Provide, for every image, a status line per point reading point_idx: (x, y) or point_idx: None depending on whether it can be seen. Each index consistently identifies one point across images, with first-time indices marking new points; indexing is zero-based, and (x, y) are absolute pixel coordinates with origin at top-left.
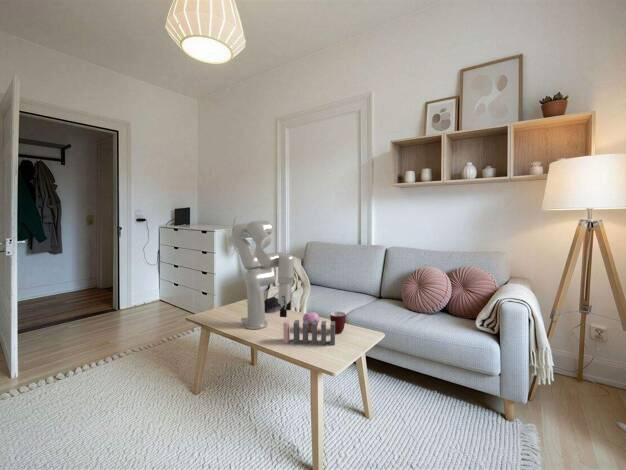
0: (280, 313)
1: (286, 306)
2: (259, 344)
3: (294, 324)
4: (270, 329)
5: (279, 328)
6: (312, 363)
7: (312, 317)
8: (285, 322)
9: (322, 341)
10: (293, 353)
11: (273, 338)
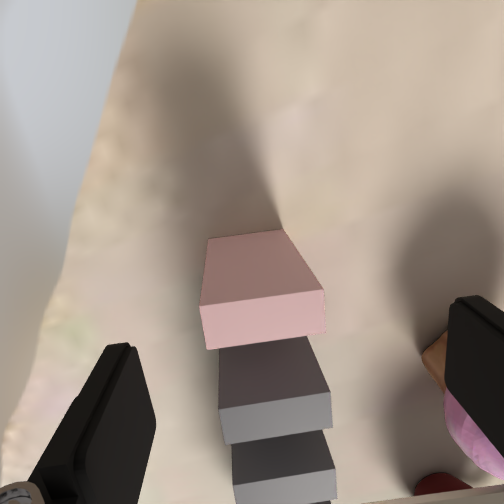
0: (92, 390)
1: (491, 376)
2: (127, 50)
3: (219, 411)
4: (461, 18)
5: (487, 99)
6: (5, 473)
7: (490, 458)
8: (231, 320)
9: None
10: (77, 351)
11: (272, 127)
